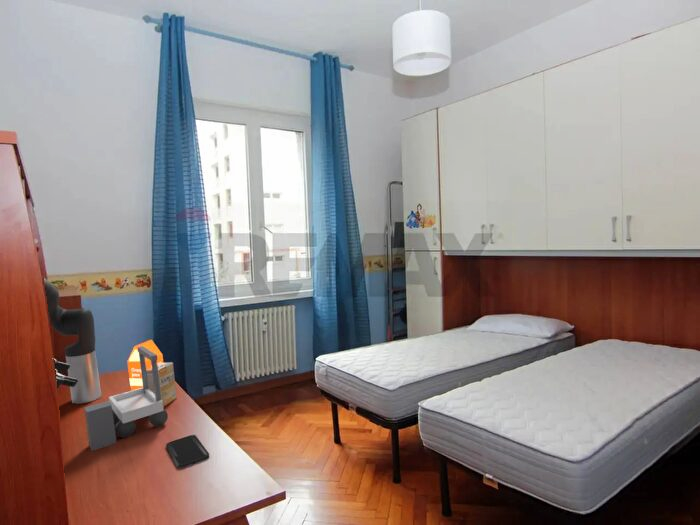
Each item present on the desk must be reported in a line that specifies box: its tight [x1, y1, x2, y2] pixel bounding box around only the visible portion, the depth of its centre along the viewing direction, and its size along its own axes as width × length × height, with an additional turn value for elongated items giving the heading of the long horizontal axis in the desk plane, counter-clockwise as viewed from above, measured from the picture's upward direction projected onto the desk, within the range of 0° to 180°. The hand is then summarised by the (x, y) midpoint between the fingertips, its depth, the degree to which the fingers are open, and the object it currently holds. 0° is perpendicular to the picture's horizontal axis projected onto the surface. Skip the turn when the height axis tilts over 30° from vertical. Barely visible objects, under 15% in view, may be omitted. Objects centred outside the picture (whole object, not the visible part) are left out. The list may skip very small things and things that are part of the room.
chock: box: [84, 400, 117, 452], centre depth 121 cm, size 4×6×11 cm
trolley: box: [108, 346, 169, 439], centre depth 132 cm, size 18×14×22 cm
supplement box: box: [147, 362, 177, 408], centre depth 148 cm, size 8×5×13 cm, turn 168°
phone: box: [165, 434, 210, 469], centre depth 113 cm, size 8×1×15 cm
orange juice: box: [127, 339, 164, 391], centre depth 154 cm, size 8×9×20 cm
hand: (72, 375), depth 120 cm, fingers open, 8 cm apart
